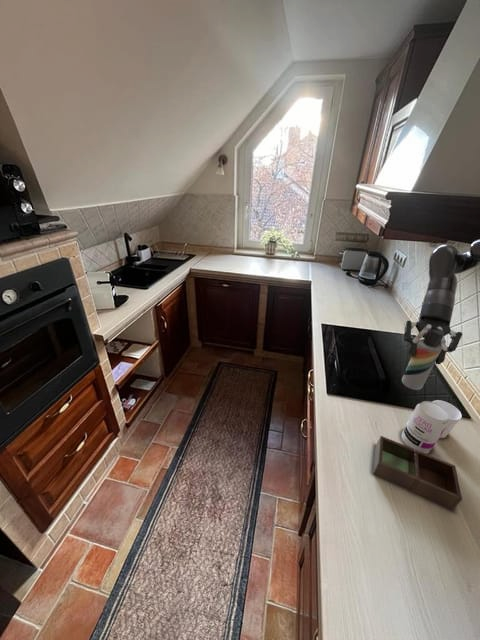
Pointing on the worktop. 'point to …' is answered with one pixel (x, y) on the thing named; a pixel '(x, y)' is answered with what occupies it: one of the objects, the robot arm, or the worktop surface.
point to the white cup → (453, 416)
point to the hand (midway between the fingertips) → (424, 359)
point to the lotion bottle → (423, 359)
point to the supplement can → (425, 426)
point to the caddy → (417, 472)
